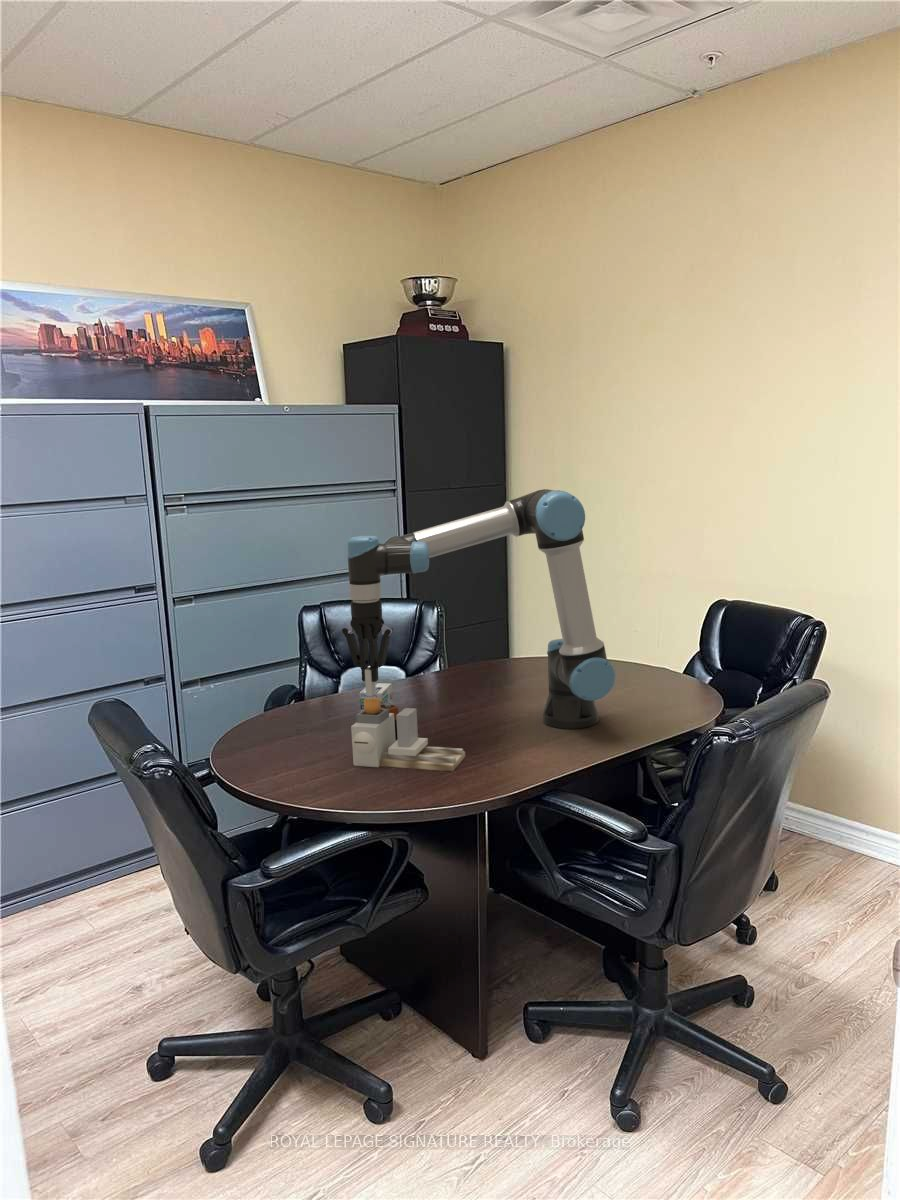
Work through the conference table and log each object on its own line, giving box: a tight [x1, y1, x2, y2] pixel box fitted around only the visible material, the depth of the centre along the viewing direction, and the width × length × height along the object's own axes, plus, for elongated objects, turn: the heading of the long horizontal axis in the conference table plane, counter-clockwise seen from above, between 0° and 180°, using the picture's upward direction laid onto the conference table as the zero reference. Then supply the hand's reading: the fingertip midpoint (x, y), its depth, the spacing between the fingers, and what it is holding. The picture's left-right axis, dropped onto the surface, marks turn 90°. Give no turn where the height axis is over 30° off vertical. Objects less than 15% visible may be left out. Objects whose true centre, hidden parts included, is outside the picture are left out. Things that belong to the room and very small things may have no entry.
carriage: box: [388, 707, 429, 756], centre depth 224 cm, size 7×9×10 cm
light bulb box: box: [359, 682, 394, 712], centre depth 255 cm, size 11×7×11 cm, turn 168°
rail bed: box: [380, 745, 466, 772], centre depth 224 cm, size 18×10×3 cm, turn 72°
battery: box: [380, 701, 399, 741], centre depth 243 cm, size 4×7×10 cm, turn 39°
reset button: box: [364, 697, 381, 714], centre depth 226 cm, size 4×4×3 cm
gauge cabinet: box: [350, 709, 397, 768], centre depth 227 cm, size 6×13×12 cm, turn 162°
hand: (371, 694), depth 226 cm, fingers closed
